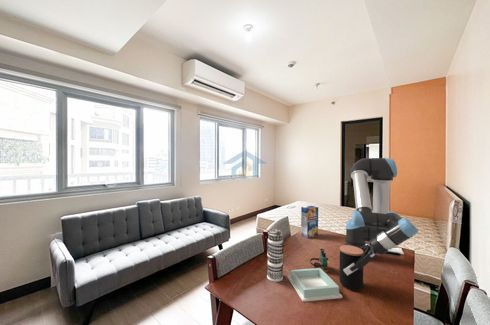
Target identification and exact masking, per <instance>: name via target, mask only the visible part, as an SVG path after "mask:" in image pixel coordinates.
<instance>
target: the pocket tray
mask: <svg viewBox="0 0 490 325" xmlns="http://www.w3.org/2000/svg"><path fill="white" fill-rule="evenodd" d="M289 272H290V273H289V275H287V279H288V281H289V282H290V283H291V286H292V287H293V288H294V290H295V292H296V293H297V295H298V296H299V298H300V300H301V301H302V302H305V303H306V302H315V301H324V300H333V299H334V300H335V299H342V298H343V295H342V294H341V293H340V286H339V285H338V284H337V283H336V282H335V281H334V280H333V279H332V278H331V277H330V276H328V274H327V272H324V271H323V270H322V267H321V268H315V267H314V268H302V269H301V268H300V269H291V270H290V271H289Z"/></svg>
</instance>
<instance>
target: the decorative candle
mask: <svg viewBox="0 0 490 325" xmlns="http://www.w3.org/2000/svg"><path fill="white" fill-rule="evenodd" d="M267 235H268V237H267V239H266V250H267V251H266V252H267V254H266V255H267V263H266V264H267V265H266V266H267V267H266V278H267V279H268V280H269V281H271V282H280V281H283V278H284V277H283V276H284V274H283V273H284V271H283V270H284V264H283V263H284V262H283V257H284V251H285V250H284V246H285V244H284V243H285V242H284V239H283V236H284V234H283V232H282V231H281V230H280V229H278V228H272V229H270V230H269V231H268V232H267Z"/></svg>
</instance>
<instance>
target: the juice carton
mask: <svg viewBox="0 0 490 325" xmlns="http://www.w3.org/2000/svg"><path fill="white" fill-rule="evenodd" d="M300 214H301V215H300V236H302V237H303V236H304V237H303V238H306V239H310V238H311V237H312V238H315V237H318V236H319V207H318V206H315V205H305V206H301V211H300Z"/></svg>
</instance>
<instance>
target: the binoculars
mask: <svg viewBox="0 0 490 325" xmlns="http://www.w3.org/2000/svg"><path fill="white" fill-rule="evenodd" d="M328 260H329V258H328V257H327V253H326V252H325V249H324V248H320V252H319V257H313V258H311V259H309V264H310V265H311V266H313V267H314V268H321V269H322V270H323V271H324V272H325V273H328V272H329V269H328V266H329V264H328ZM313 261H318V262H313Z"/></svg>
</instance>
